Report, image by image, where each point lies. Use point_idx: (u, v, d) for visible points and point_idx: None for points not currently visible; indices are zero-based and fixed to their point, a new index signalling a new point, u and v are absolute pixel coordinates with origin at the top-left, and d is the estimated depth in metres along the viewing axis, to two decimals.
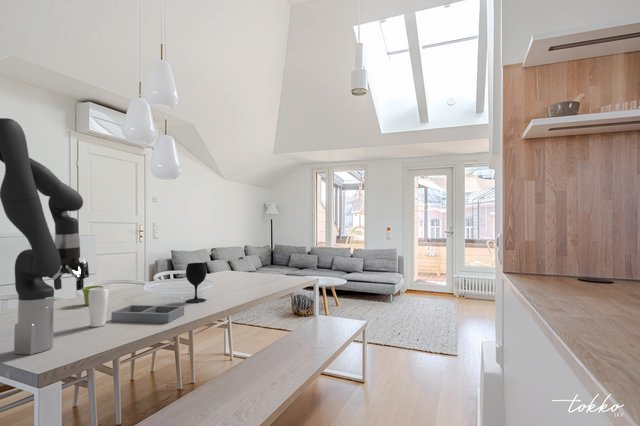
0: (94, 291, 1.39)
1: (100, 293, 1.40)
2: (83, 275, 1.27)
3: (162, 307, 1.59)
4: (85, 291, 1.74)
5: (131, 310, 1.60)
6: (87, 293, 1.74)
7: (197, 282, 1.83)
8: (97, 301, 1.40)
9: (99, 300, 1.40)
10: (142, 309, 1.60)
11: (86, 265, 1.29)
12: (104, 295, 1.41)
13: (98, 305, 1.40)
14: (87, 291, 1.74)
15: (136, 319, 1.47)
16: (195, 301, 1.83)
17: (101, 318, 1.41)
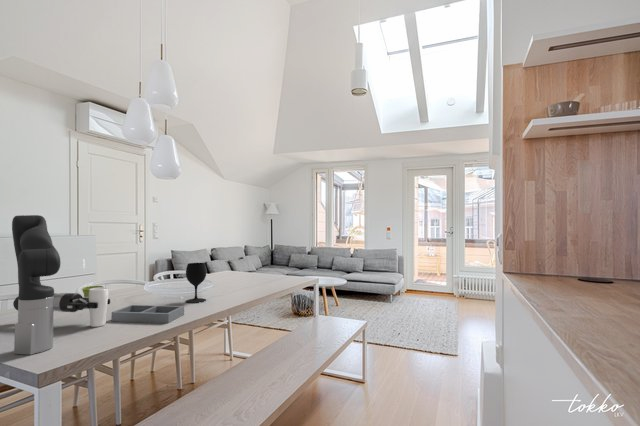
0: (94, 291, 1.39)
1: (100, 293, 1.40)
2: None
3: (162, 307, 1.59)
4: (85, 291, 1.74)
5: (131, 310, 1.60)
6: (87, 293, 1.74)
7: (197, 282, 1.83)
8: (97, 301, 1.40)
9: (99, 300, 1.40)
10: (142, 309, 1.60)
11: None
12: (104, 295, 1.41)
13: (98, 305, 1.40)
14: (87, 291, 1.74)
15: (136, 319, 1.47)
16: (195, 301, 1.83)
17: (101, 318, 1.41)
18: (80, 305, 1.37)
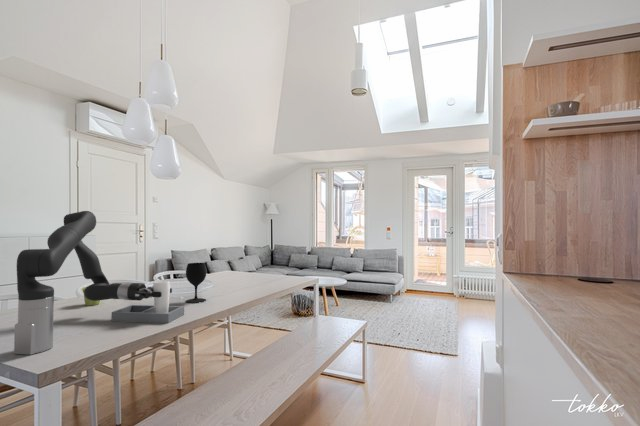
0: (159, 283, 1.51)
1: (164, 285, 1.52)
2: None
3: None
4: None
5: (131, 310, 1.60)
6: None
7: (197, 282, 1.83)
8: (162, 293, 1.51)
9: (163, 292, 1.52)
10: (142, 309, 1.60)
11: None
12: (167, 287, 1.53)
13: (163, 296, 1.51)
14: None
15: (136, 319, 1.47)
16: (195, 301, 1.83)
17: (165, 308, 1.52)
18: (146, 294, 1.47)
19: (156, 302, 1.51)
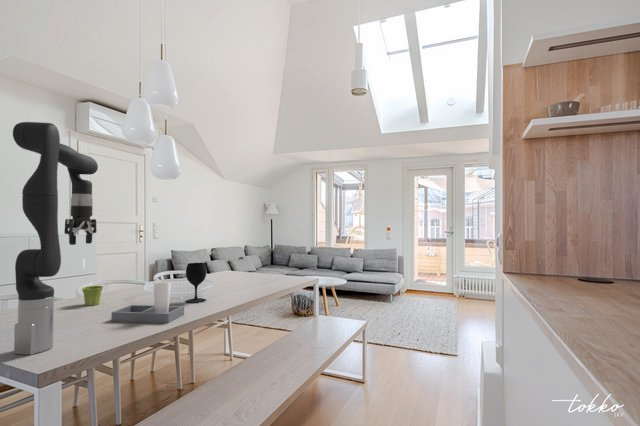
0: (160, 284, 1.51)
1: (165, 286, 1.51)
2: (95, 230, 1.52)
3: None
4: (85, 291, 1.74)
5: (131, 310, 1.60)
6: (87, 293, 1.74)
7: (197, 282, 1.83)
8: (162, 293, 1.51)
9: (164, 292, 1.51)
10: (142, 309, 1.60)
11: None
12: (168, 288, 1.53)
13: (163, 297, 1.51)
14: (87, 291, 1.74)
15: (136, 319, 1.47)
16: (195, 301, 1.83)
17: (165, 309, 1.52)
18: (68, 232, 1.38)
19: (156, 303, 1.51)
